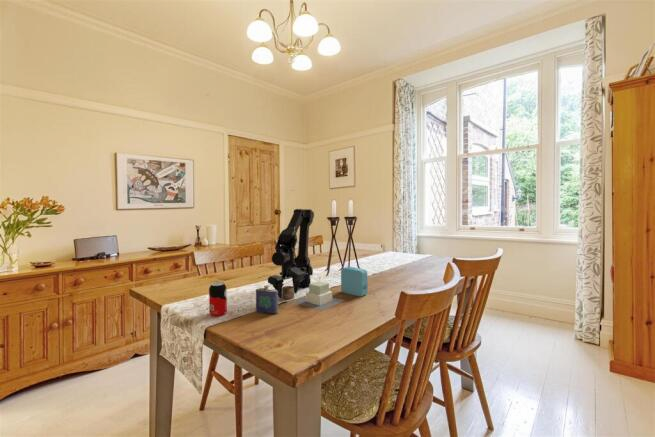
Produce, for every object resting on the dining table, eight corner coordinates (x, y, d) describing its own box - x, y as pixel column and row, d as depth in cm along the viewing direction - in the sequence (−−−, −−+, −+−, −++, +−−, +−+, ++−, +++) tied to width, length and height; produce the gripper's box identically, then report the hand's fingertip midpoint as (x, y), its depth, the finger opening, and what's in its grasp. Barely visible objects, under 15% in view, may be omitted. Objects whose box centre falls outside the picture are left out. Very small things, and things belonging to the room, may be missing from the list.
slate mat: (292, 303, 130) (292, 302, 130) (317, 294, 142) (317, 293, 142) (321, 311, 120) (321, 310, 120) (345, 301, 132) (345, 300, 132)
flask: (279, 312, 119) (278, 285, 119) (275, 315, 116) (275, 287, 116) (257, 310, 122) (257, 283, 121) (254, 312, 119) (253, 285, 118)
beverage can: (217, 318, 113) (216, 286, 112) (206, 315, 116) (205, 284, 116) (230, 313, 119) (229, 282, 118) (219, 310, 122) (218, 280, 121)
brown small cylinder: (279, 298, 136) (279, 287, 135) (288, 296, 140) (288, 285, 139) (287, 301, 132) (287, 289, 132) (296, 298, 136) (296, 287, 136)
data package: (367, 295, 140) (367, 269, 140) (362, 297, 137) (362, 271, 136) (346, 290, 148) (346, 266, 147) (340, 292, 145) (340, 267, 144)
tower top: (309, 292, 130) (309, 284, 130) (318, 289, 135) (318, 281, 135) (319, 295, 127) (319, 286, 126) (328, 291, 131) (328, 283, 131)
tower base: (305, 301, 130) (305, 292, 130) (318, 297, 137) (318, 288, 136) (320, 305, 125) (320, 296, 125) (332, 300, 132) (332, 291, 131)
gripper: (284, 267, 123) (284, 305, 124) (315, 260, 137) (315, 294, 138) (266, 263, 130) (267, 299, 131) (297, 257, 144) (298, 289, 145)
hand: (288, 295), depth 136 cm, fingers open, 9 cm apart
